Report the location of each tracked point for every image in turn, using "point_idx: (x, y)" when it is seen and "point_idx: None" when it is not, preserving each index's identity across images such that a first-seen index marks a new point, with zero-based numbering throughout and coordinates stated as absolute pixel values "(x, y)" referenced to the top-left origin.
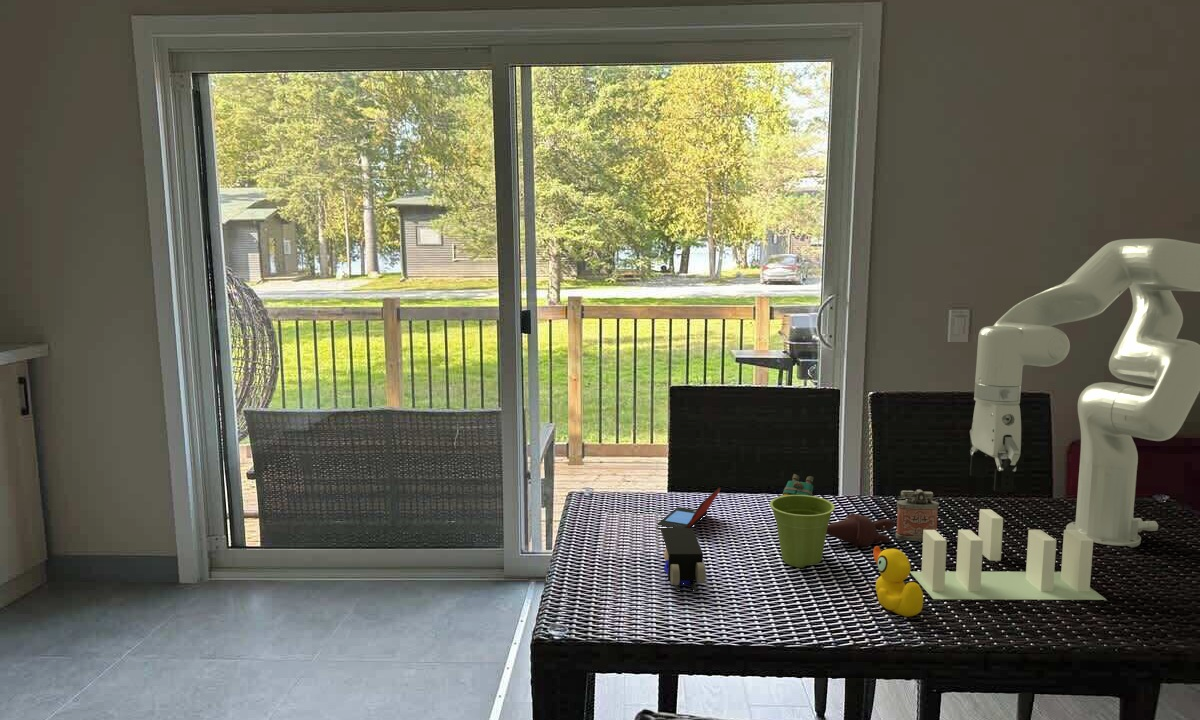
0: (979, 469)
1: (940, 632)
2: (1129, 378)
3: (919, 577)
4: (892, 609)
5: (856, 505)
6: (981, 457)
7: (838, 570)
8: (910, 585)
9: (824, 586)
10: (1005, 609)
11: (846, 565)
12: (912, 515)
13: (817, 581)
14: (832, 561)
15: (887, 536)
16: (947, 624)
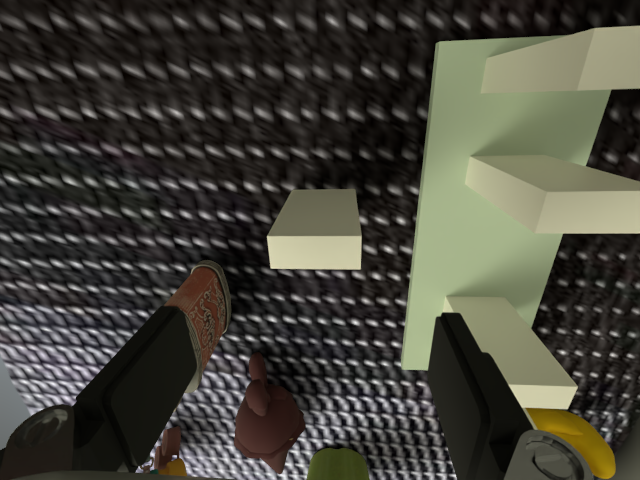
0: (172, 369)
1: (604, 387)
2: None
3: (428, 363)
4: None
5: (47, 340)
6: (123, 434)
7: (373, 435)
8: (610, 477)
9: (426, 459)
10: (565, 273)
11: (354, 423)
12: (207, 348)
13: (409, 461)
14: (339, 433)
15: (255, 365)
16: (584, 371)
